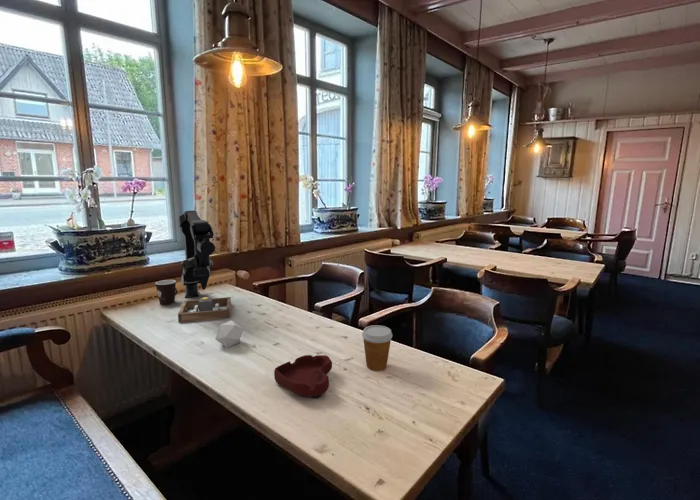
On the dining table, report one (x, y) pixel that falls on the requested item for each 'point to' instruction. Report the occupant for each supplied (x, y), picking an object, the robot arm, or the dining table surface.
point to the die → (229, 334)
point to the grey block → (205, 304)
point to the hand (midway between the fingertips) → (204, 286)
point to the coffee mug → (166, 291)
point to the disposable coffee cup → (376, 346)
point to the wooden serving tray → (204, 314)
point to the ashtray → (305, 375)
